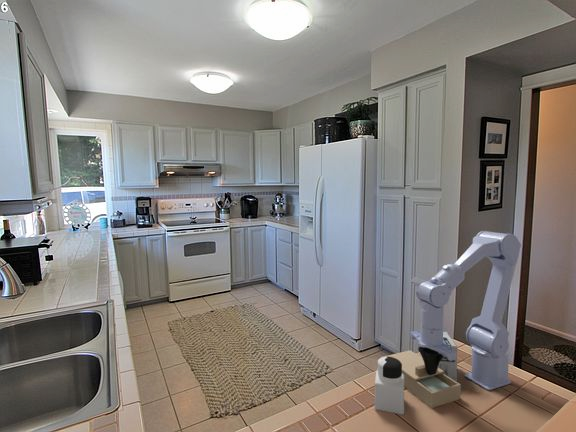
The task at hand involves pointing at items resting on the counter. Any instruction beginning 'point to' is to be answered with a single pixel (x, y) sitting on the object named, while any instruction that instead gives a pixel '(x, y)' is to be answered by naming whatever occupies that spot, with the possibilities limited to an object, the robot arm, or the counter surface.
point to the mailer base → (437, 394)
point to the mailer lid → (413, 365)
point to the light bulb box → (446, 364)
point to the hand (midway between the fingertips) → (431, 373)
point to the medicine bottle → (389, 386)
